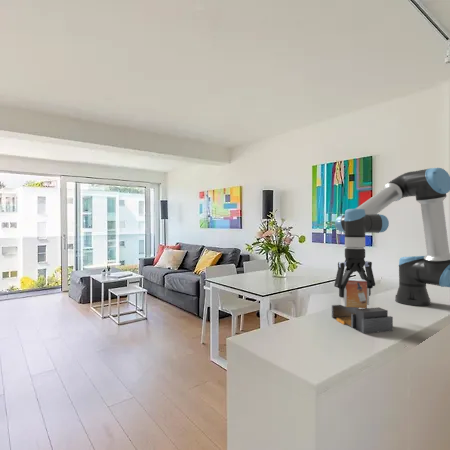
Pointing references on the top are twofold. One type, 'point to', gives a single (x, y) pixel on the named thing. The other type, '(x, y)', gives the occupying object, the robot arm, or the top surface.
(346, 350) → the top surface
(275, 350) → the top surface
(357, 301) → the small box
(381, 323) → the rack
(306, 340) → the top surface
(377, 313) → the dark grey box
